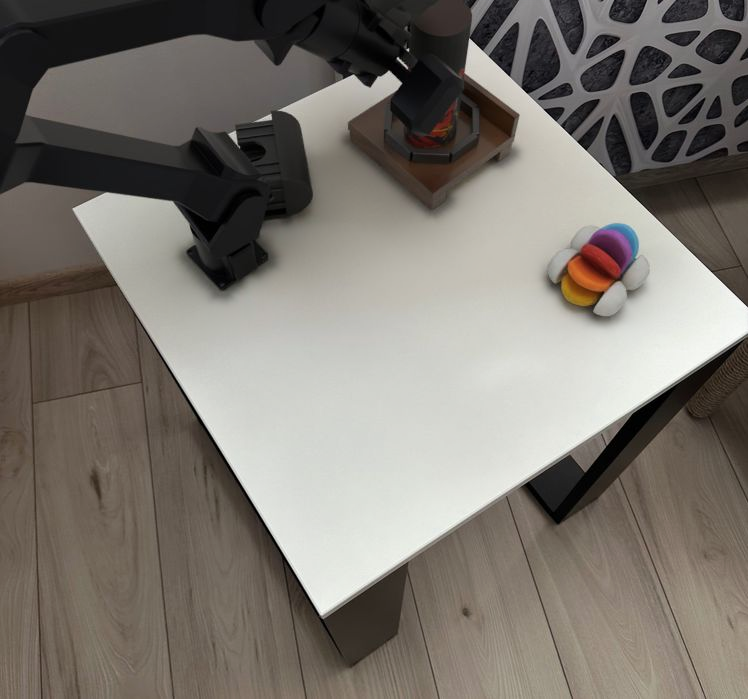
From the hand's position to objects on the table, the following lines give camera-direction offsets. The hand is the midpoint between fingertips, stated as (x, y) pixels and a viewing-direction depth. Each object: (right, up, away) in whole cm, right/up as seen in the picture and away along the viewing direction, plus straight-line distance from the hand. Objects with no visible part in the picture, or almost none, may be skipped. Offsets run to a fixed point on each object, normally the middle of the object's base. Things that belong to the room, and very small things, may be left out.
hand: (425, 75), depth 79 cm
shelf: (+1, -5, +10) cm, 12 cm away
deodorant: (+1, -3, +8) cm, 9 cm away
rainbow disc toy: (+18, -21, +2) cm, 28 cm away
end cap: (-16, -10, +8) cm, 20 cm away
